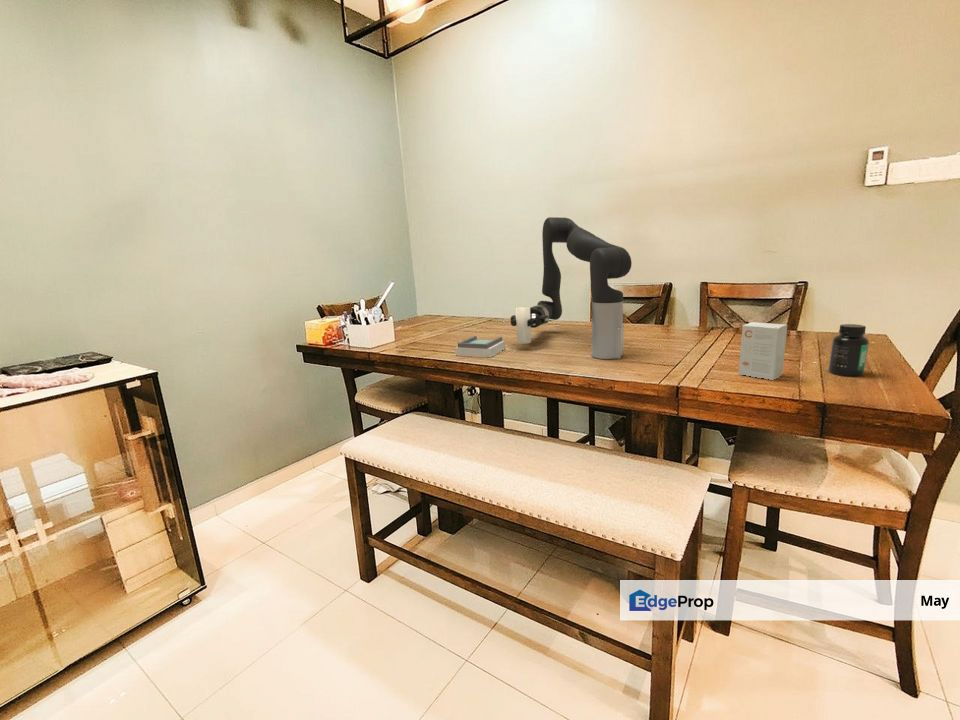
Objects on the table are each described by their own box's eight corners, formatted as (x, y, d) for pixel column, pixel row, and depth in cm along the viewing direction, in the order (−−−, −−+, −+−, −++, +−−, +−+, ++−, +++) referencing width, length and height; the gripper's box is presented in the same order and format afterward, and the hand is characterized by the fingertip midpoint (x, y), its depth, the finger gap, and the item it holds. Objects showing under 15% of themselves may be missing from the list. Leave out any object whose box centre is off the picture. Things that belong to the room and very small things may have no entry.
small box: (782, 375, 110) (788, 324, 107) (773, 381, 107) (779, 328, 103) (747, 370, 117) (752, 321, 113) (737, 375, 113) (741, 325, 110)
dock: (505, 349, 156) (504, 337, 155) (490, 357, 145) (489, 344, 144) (472, 347, 162) (471, 335, 161) (455, 355, 150) (454, 343, 149)
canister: (533, 340, 155) (532, 306, 152) (528, 343, 151) (527, 308, 148) (519, 340, 157) (518, 306, 154) (514, 343, 153) (513, 308, 150)
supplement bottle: (869, 377, 105) (878, 328, 103) (836, 376, 107) (843, 328, 104) (854, 369, 112) (862, 323, 109) (823, 369, 114) (829, 323, 111)
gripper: (517, 306, 167) (500, 312, 152) (554, 305, 161) (540, 312, 146) (518, 325, 169) (501, 333, 154) (555, 326, 162) (541, 334, 148)
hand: (520, 323), depth 150 cm, fingers closed on canister, 5 cm apart
